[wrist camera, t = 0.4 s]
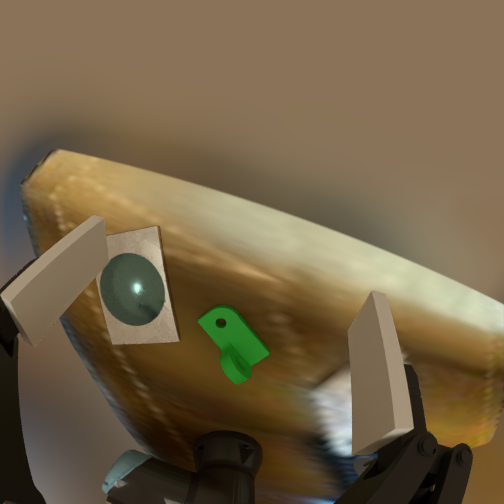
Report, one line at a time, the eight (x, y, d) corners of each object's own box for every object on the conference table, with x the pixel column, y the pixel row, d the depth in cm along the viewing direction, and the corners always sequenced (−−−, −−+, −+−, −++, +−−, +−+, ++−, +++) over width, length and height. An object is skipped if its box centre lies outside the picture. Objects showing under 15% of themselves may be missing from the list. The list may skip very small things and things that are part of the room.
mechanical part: (269, 349, 46) (272, 371, 38) (242, 366, 46) (240, 390, 38) (226, 297, 45) (221, 311, 37) (199, 317, 45) (189, 334, 38)
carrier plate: (180, 338, 46) (178, 341, 44) (115, 342, 46) (111, 344, 44) (159, 226, 44) (156, 226, 43) (93, 239, 44) (89, 239, 43)
